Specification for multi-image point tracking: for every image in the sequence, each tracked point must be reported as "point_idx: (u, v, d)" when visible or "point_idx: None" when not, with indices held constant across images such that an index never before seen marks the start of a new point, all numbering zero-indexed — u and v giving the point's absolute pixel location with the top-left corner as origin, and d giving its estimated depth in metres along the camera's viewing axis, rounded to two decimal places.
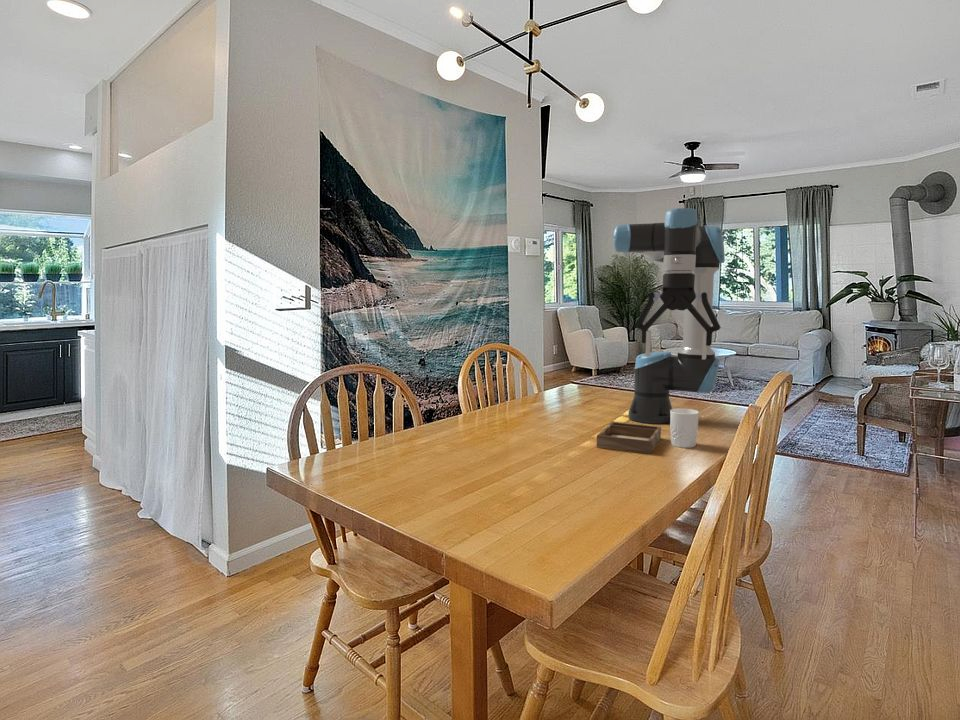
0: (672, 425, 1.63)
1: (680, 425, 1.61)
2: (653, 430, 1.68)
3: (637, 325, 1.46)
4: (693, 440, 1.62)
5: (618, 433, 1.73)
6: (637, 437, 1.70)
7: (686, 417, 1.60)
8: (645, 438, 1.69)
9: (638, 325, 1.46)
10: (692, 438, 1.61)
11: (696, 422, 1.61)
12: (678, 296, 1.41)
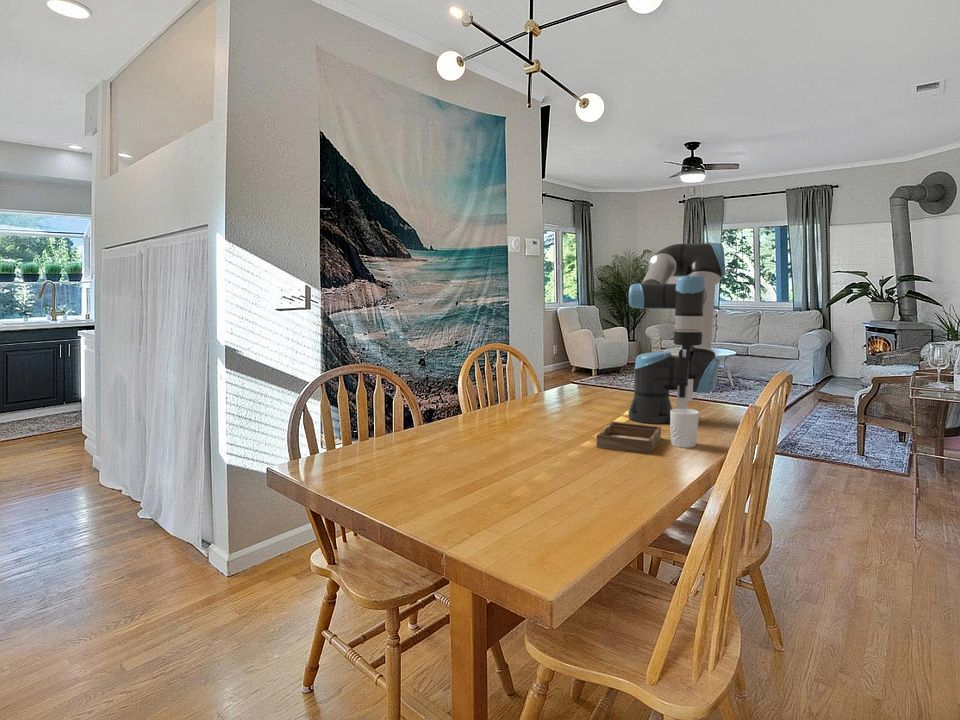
0: (672, 425, 1.63)
1: (680, 425, 1.61)
2: (653, 430, 1.68)
3: None
4: (693, 440, 1.62)
5: (618, 433, 1.73)
6: (637, 437, 1.70)
7: (686, 417, 1.60)
8: (645, 438, 1.69)
9: None
10: (692, 438, 1.61)
11: (696, 422, 1.61)
12: None
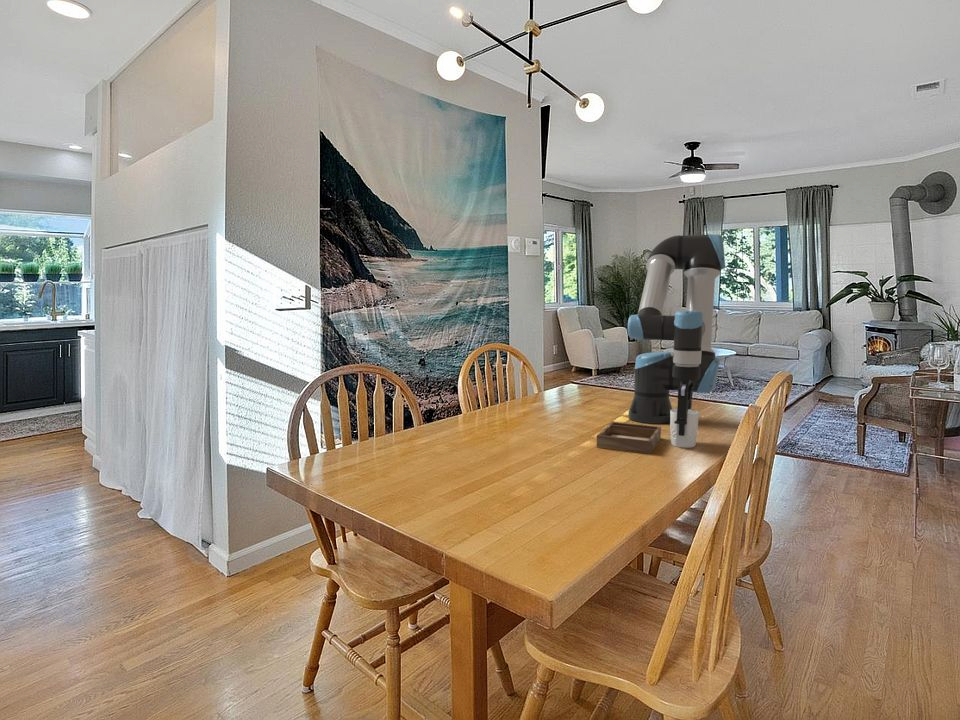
0: (672, 425, 1.63)
1: None
2: (653, 430, 1.68)
3: None
4: (693, 440, 1.62)
5: (618, 433, 1.73)
6: (637, 437, 1.70)
7: None
8: (645, 438, 1.69)
9: None
10: (692, 438, 1.61)
11: (696, 422, 1.61)
12: None
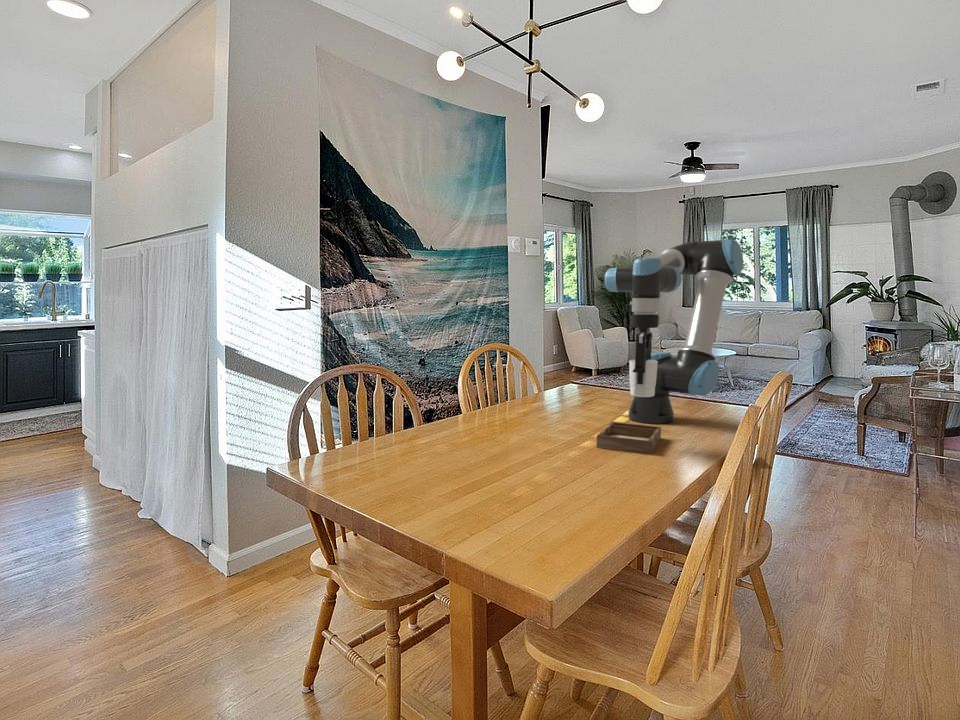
0: (631, 375, 1.61)
1: None
2: (653, 430, 1.68)
3: None
4: (652, 389, 1.60)
5: (618, 433, 1.73)
6: (637, 437, 1.70)
7: None
8: (645, 438, 1.69)
9: None
10: (651, 387, 1.60)
11: (655, 371, 1.60)
12: None
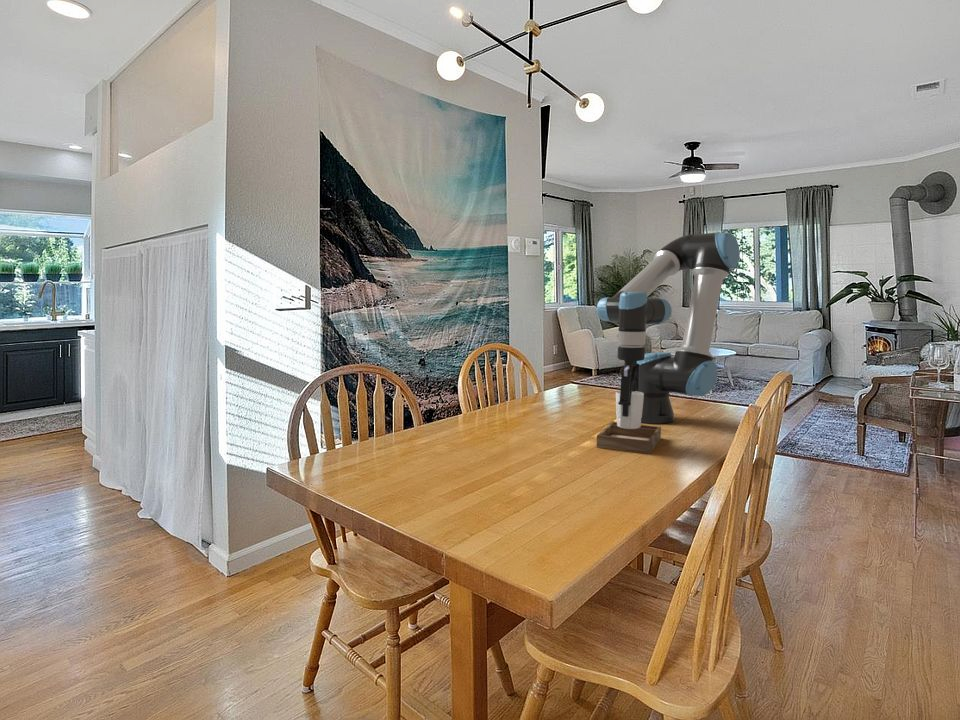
0: (617, 406, 1.63)
1: None
2: (653, 430, 1.68)
3: None
4: (638, 421, 1.62)
5: (618, 433, 1.73)
6: (637, 437, 1.70)
7: None
8: (645, 438, 1.69)
9: None
10: (636, 419, 1.61)
11: (640, 403, 1.61)
12: None
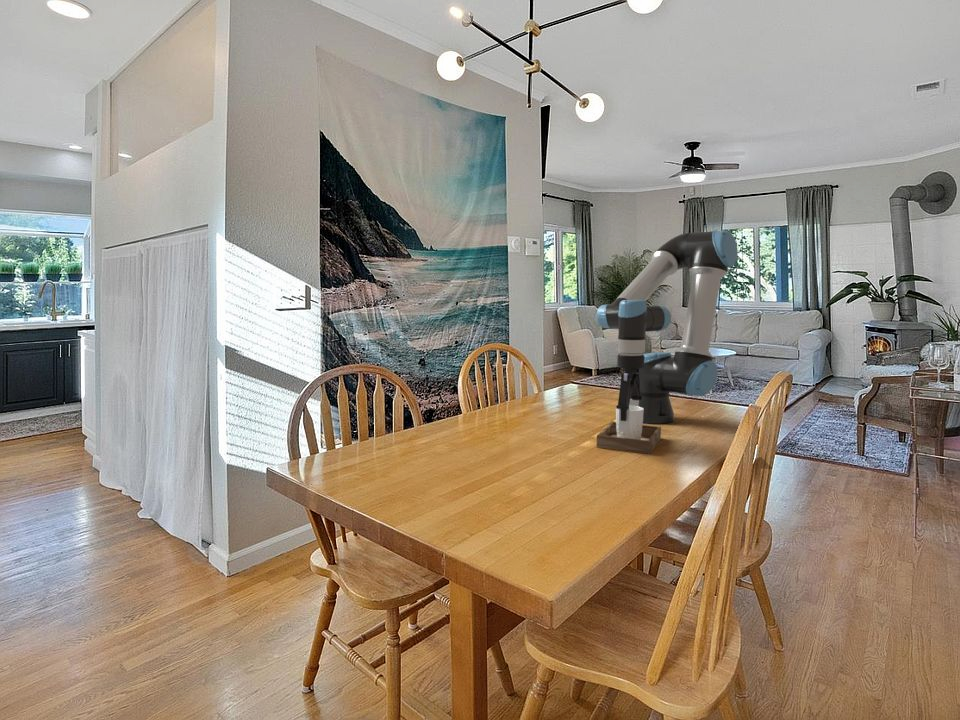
0: (617, 422, 1.64)
1: None
2: (653, 430, 1.68)
3: None
4: (638, 437, 1.62)
5: None
6: None
7: (630, 414, 1.60)
8: (645, 438, 1.69)
9: None
10: (636, 435, 1.62)
11: (640, 419, 1.61)
12: None
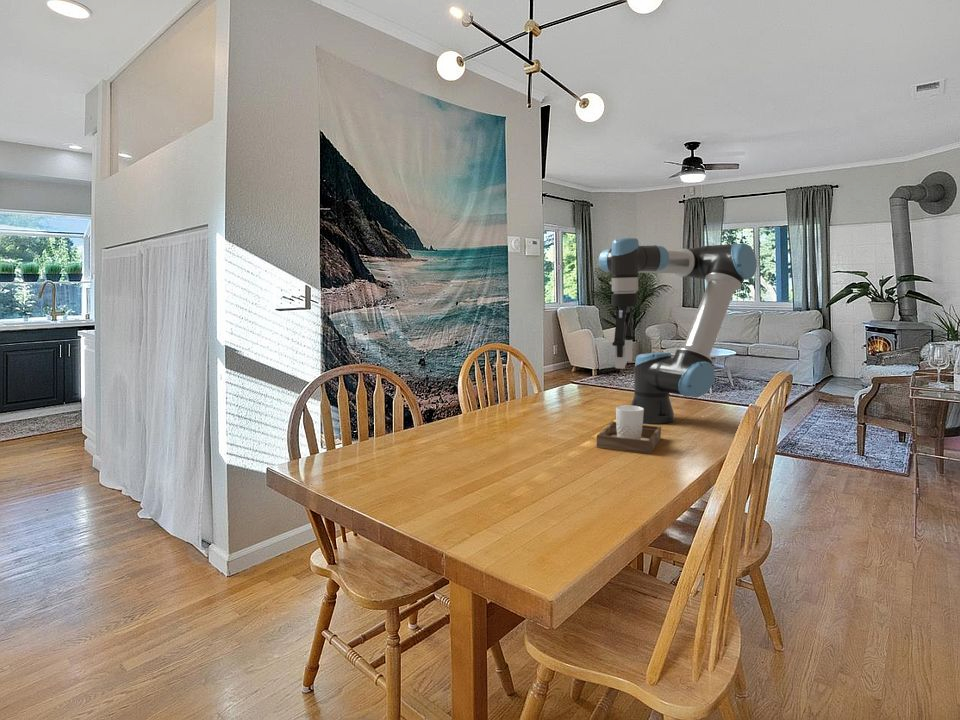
0: (617, 422, 1.64)
1: (624, 421, 1.61)
2: (653, 430, 1.68)
3: None
4: (638, 437, 1.62)
5: None
6: None
7: (630, 414, 1.60)
8: (645, 438, 1.69)
9: None
10: (636, 435, 1.62)
11: (640, 419, 1.61)
12: None
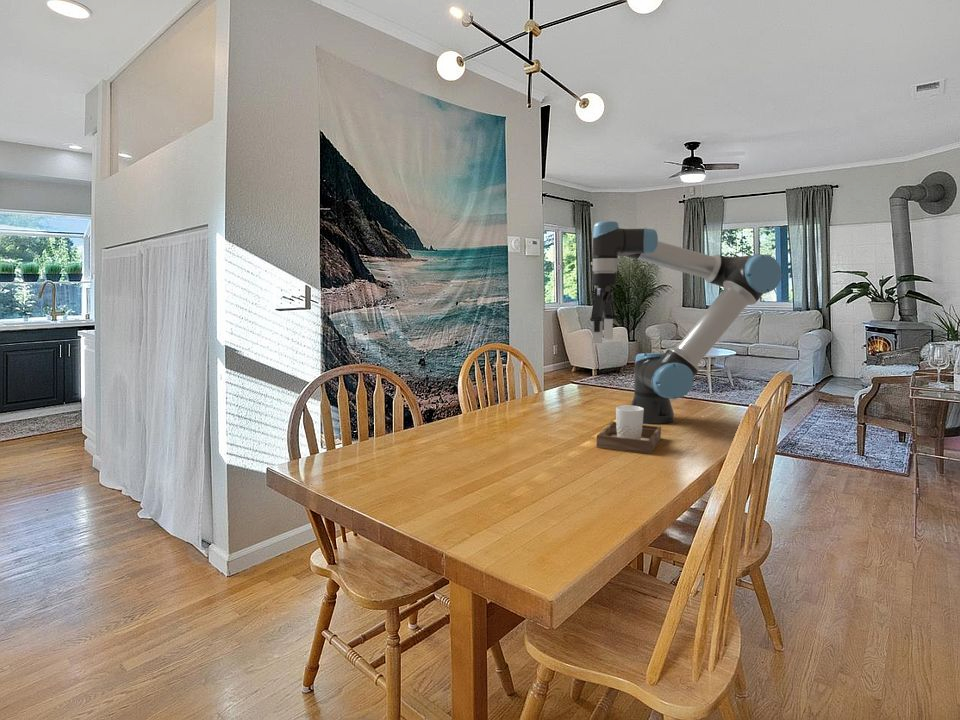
0: (617, 422, 1.64)
1: (624, 421, 1.61)
2: (653, 430, 1.68)
3: None
4: (638, 437, 1.62)
5: None
6: None
7: (630, 414, 1.60)
8: (645, 438, 1.69)
9: None
10: (636, 435, 1.62)
11: (640, 419, 1.61)
12: None
